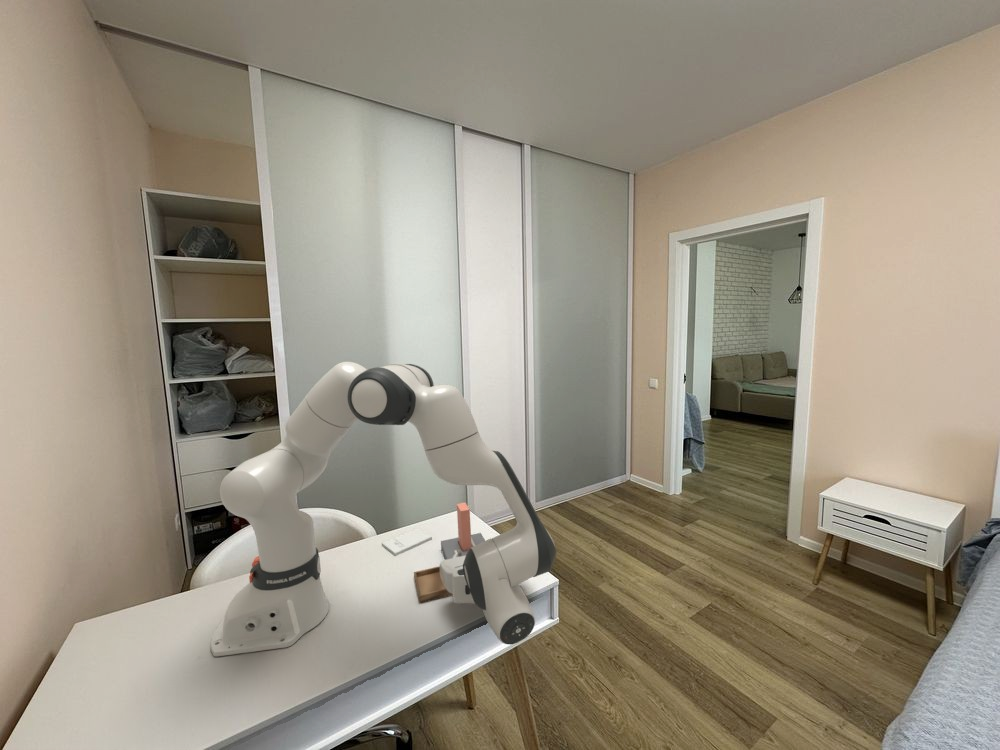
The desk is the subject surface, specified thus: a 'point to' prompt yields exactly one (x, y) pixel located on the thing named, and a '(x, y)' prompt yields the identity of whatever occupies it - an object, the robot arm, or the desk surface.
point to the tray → (430, 585)
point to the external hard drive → (406, 541)
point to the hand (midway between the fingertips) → (475, 548)
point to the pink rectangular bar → (464, 526)
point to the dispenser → (453, 544)
